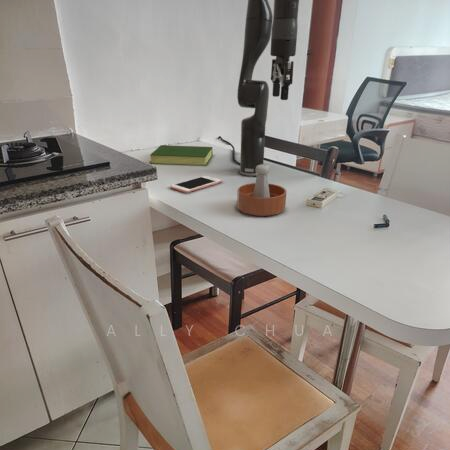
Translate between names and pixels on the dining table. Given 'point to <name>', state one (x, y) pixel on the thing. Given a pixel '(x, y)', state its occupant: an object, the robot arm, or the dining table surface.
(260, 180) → the salt shaker
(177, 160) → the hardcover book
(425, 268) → the dining table surface
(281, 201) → the bowl
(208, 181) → the cell phone
